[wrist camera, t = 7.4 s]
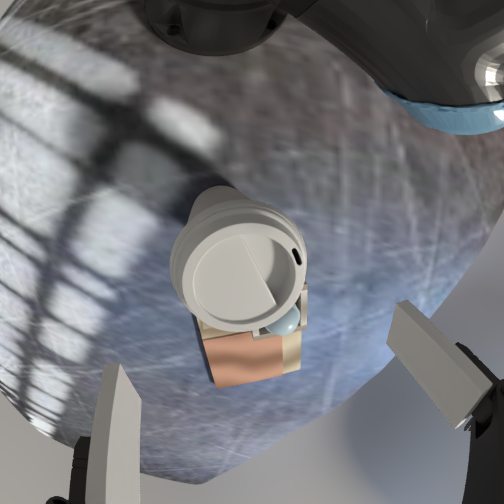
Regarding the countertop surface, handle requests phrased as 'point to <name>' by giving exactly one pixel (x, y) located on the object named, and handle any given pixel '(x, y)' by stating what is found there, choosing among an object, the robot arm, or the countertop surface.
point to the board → (253, 351)
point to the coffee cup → (237, 261)
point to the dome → (285, 322)
